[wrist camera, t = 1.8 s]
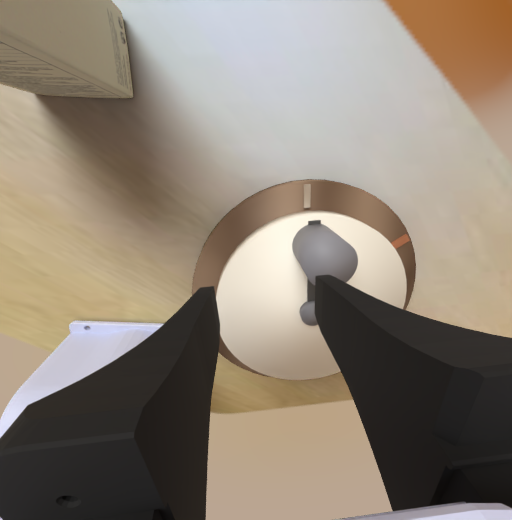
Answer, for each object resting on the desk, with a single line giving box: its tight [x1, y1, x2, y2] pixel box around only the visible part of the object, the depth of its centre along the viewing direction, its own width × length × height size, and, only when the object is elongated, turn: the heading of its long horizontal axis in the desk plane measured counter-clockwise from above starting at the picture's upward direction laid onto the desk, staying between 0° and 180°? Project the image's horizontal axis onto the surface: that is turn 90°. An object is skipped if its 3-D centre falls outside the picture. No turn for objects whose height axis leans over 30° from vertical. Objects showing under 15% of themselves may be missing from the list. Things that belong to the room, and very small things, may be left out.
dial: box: [216, 210, 407, 380], centre depth 18 cm, size 15×15×5 cm
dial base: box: [192, 179, 416, 377], centre depth 21 cm, size 19×19×1 cm
